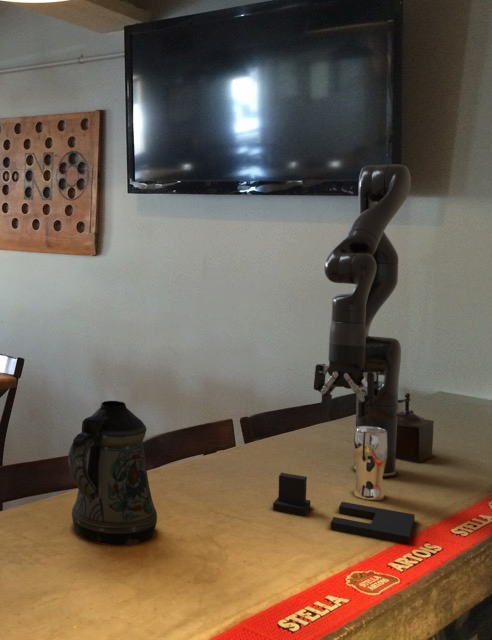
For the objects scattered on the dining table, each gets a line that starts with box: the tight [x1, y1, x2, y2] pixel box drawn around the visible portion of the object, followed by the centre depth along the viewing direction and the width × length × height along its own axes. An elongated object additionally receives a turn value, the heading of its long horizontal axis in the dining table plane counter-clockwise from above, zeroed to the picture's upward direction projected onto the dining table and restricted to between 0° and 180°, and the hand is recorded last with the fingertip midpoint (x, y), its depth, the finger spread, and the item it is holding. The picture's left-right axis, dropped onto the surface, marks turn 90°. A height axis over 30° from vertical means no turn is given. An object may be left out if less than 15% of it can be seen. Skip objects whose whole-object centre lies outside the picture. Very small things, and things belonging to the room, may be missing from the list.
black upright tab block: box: [272, 472, 311, 517], centre depth 171 cm, size 6×6×7 cm
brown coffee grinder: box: [378, 380, 435, 463], centre depth 215 cm, size 16×11×18 cm
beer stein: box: [67, 400, 158, 546], centre depth 156 cm, size 16×19×25 cm
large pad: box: [330, 501, 416, 545], centre depth 162 cm, size 14×14×2 cm
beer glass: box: [353, 426, 388, 501], centre depth 180 cm, size 7×7×15 cm
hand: (344, 414), depth 180 cm, fingers open, 8 cm apart
